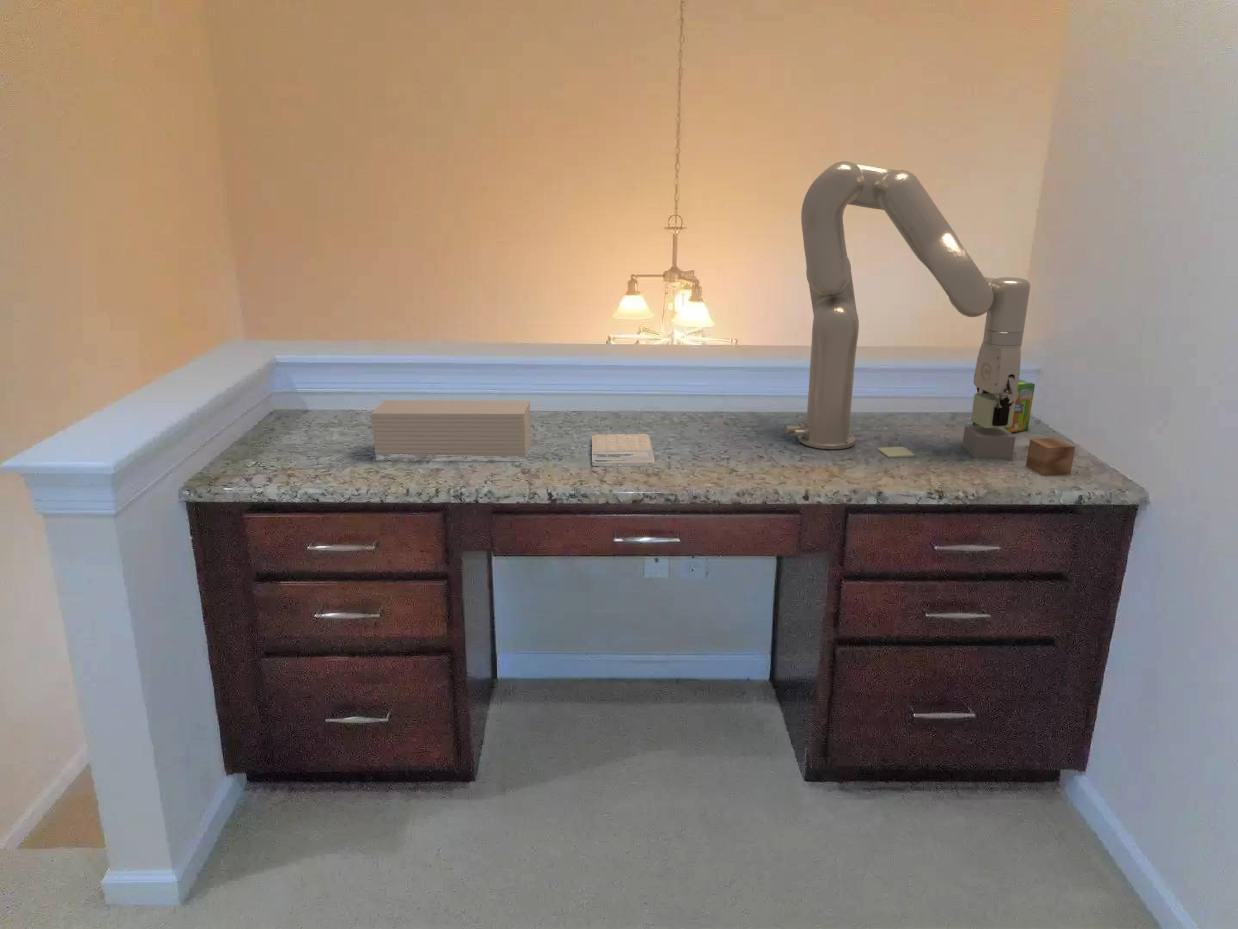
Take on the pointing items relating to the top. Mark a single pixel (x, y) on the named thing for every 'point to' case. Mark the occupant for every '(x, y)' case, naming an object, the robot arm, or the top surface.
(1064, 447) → the walnut block
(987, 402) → the sage block
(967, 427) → the base block
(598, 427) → the top surface
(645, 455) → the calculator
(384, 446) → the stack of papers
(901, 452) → the tile
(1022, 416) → the chalk box
